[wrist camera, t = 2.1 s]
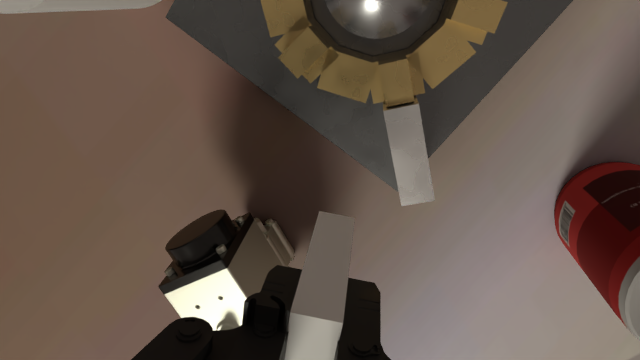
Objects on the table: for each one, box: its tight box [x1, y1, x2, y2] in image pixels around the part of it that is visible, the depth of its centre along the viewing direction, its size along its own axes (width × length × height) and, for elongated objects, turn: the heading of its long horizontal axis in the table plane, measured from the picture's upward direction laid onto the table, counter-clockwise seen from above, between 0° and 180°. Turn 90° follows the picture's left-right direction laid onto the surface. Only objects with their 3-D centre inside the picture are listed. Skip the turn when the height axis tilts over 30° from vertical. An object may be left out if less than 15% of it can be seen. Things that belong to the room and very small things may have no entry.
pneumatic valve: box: [158, 210, 295, 331], centre depth 32 cm, size 6×12×12 cm, turn 28°
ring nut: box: [261, 0, 508, 206], centre depth 26 cm, size 20×13×5 cm
